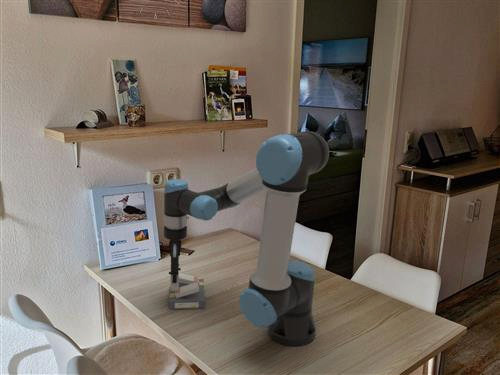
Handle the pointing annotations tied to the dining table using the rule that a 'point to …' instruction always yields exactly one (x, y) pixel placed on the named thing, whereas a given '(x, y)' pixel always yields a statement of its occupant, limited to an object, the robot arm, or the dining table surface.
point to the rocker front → (187, 290)
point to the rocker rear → (187, 279)
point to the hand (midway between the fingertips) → (174, 289)
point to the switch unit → (188, 298)
